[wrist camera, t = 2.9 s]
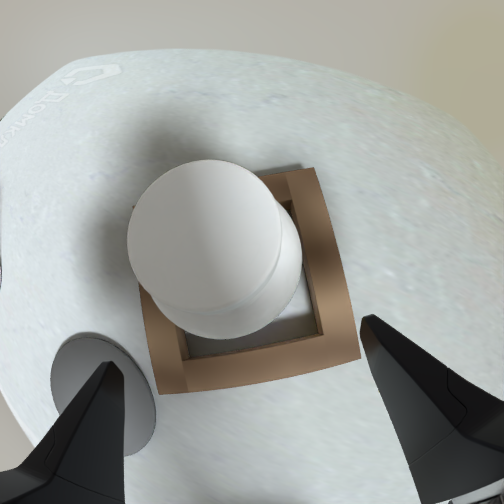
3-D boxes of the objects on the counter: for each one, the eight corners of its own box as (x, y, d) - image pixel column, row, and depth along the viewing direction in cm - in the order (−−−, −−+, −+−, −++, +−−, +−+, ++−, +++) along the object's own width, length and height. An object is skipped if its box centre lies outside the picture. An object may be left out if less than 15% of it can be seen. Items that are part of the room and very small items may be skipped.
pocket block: (352, 354, 19) (361, 358, 17) (168, 388, 19) (158, 394, 17) (310, 179, 22) (313, 167, 20) (142, 214, 22) (132, 206, 20)
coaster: (183, 416, 18) (181, 419, 17) (109, 470, 17) (106, 472, 16) (96, 311, 20) (92, 311, 20) (39, 379, 19) (35, 380, 18)
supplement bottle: (298, 254, 20) (342, 164, 8) (270, 340, 19) (278, 384, 7) (213, 227, 21) (152, 120, 9) (183, 310, 20) (74, 297, 7)
